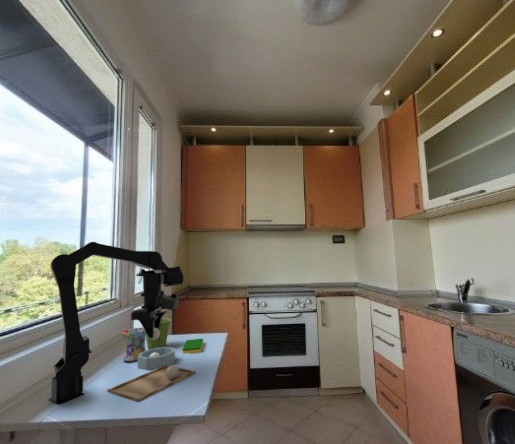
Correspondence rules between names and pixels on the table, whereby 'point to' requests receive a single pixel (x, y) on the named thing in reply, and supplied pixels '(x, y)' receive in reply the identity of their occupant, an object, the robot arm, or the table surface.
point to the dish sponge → (193, 346)
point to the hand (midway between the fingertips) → (153, 336)
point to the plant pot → (162, 338)
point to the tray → (148, 384)
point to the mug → (134, 343)
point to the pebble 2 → (172, 372)
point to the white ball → (154, 354)
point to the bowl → (156, 358)
